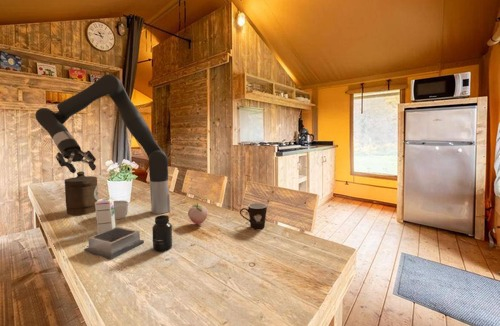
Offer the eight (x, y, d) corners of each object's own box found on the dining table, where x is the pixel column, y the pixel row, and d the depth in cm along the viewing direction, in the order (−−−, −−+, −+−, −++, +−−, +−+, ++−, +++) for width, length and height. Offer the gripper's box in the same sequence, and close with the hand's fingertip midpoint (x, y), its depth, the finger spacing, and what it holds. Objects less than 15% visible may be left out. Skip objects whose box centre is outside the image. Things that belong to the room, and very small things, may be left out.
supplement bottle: (154, 254, 87) (152, 221, 86) (152, 246, 93) (150, 215, 92) (174, 249, 90) (172, 218, 89) (170, 242, 96) (169, 212, 95)
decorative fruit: (211, 224, 116) (211, 203, 114) (197, 229, 110) (196, 207, 108) (199, 219, 122) (199, 200, 121) (185, 224, 116) (184, 203, 115)
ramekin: (93, 219, 123) (92, 205, 122) (116, 211, 135) (115, 199, 134) (112, 223, 118) (111, 208, 117) (134, 214, 130) (134, 201, 129)
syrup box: (113, 234, 105) (110, 200, 103) (97, 235, 103) (94, 201, 101) (116, 229, 110) (114, 197, 108) (101, 230, 108) (98, 198, 107)
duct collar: (119, 236, 102) (118, 225, 101) (144, 242, 96) (143, 230, 95) (84, 251, 89) (83, 238, 88) (111, 259, 83) (110, 245, 83)
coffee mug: (269, 225, 115) (269, 204, 114) (262, 231, 107) (262, 209, 106) (247, 221, 120) (247, 201, 119) (239, 227, 112) (238, 206, 111)
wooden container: (104, 209, 137) (101, 170, 135) (74, 217, 125) (70, 174, 122) (91, 205, 145) (88, 168, 143) (61, 212, 133) (57, 172, 130)
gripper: (51, 138, 103) (70, 166, 100) (85, 137, 116) (103, 163, 113) (45, 150, 106) (64, 178, 103) (79, 148, 119) (97, 173, 116)
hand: (84, 170), depth 108 cm, fingers open, 8 cm apart
